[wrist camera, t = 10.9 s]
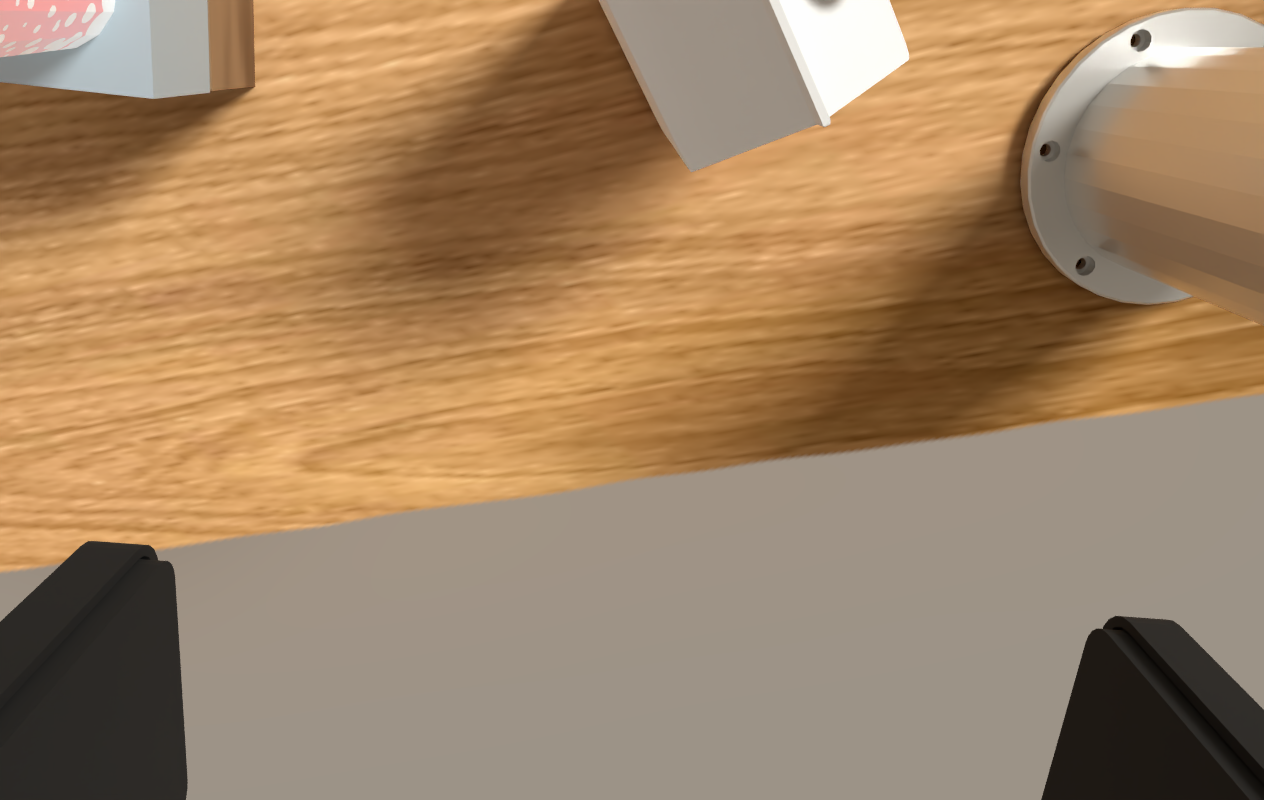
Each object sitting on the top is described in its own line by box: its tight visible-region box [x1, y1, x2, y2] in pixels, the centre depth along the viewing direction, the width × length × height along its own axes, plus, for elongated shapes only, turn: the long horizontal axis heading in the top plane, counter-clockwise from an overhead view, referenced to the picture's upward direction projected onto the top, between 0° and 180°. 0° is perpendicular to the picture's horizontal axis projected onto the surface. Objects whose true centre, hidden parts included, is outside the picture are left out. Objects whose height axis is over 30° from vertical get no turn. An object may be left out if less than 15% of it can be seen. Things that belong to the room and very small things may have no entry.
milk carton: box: [599, 0, 909, 172], centre depth 33 cm, size 7×7×19 cm
